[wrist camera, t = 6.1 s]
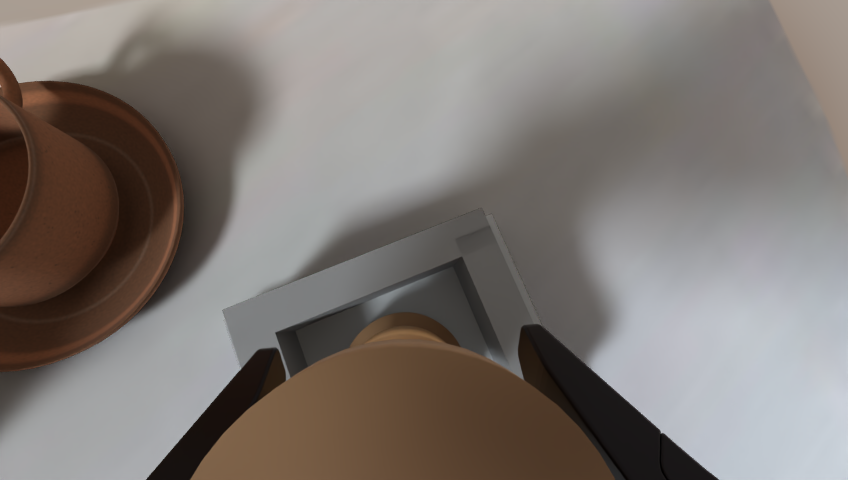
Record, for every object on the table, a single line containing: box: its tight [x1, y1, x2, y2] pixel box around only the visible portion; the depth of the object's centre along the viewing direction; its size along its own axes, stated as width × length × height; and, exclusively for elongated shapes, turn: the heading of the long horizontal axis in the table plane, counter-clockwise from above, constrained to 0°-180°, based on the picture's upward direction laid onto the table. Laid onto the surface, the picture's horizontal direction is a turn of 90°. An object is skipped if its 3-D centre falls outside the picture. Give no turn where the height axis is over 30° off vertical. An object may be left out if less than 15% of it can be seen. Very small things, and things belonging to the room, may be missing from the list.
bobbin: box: [190, 312, 615, 480], centre depth 10 cm, size 5×5×13 cm
